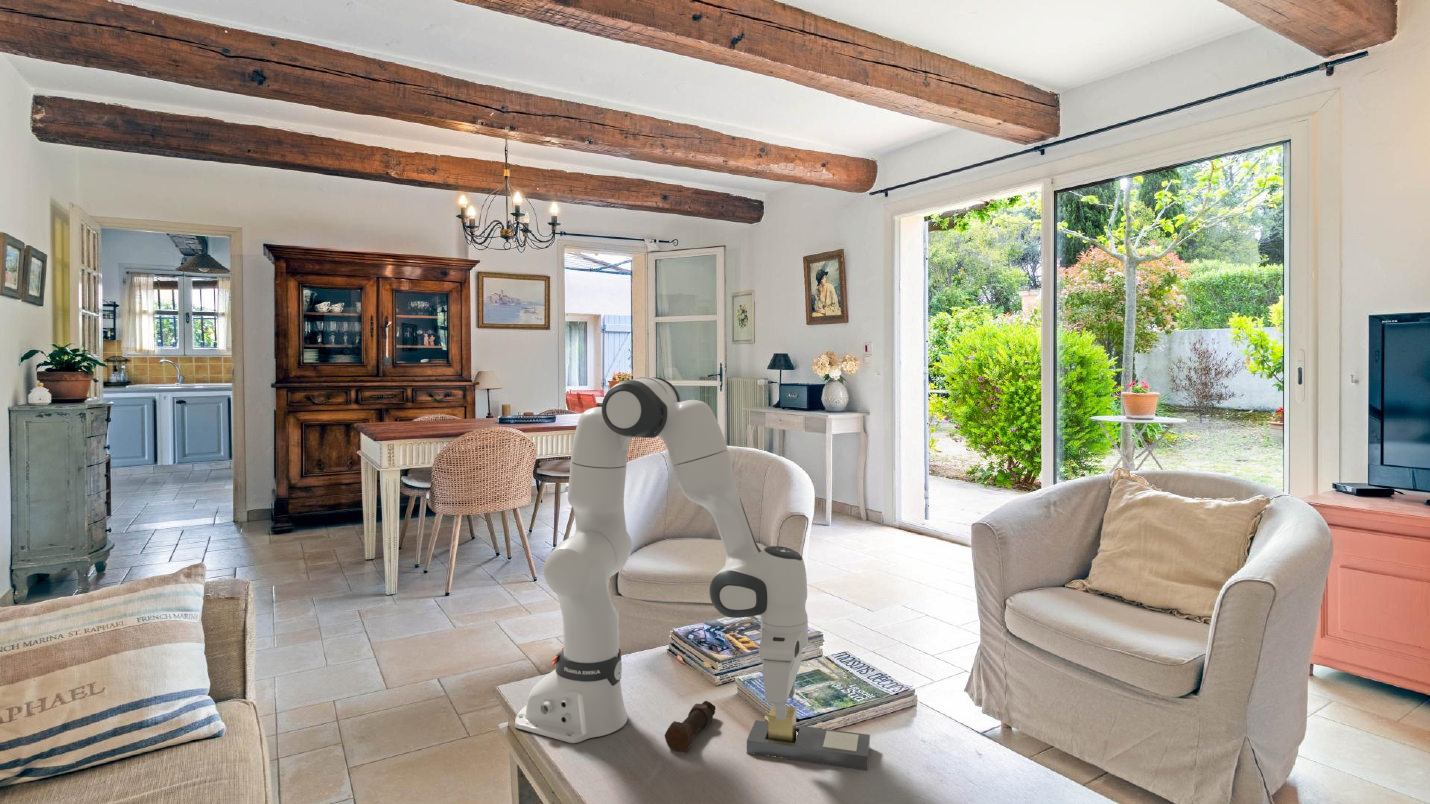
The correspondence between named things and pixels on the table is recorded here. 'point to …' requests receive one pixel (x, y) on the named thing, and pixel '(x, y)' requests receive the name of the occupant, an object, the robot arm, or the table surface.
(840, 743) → the plate
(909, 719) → the table surface
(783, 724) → the tan block
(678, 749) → the bolt
